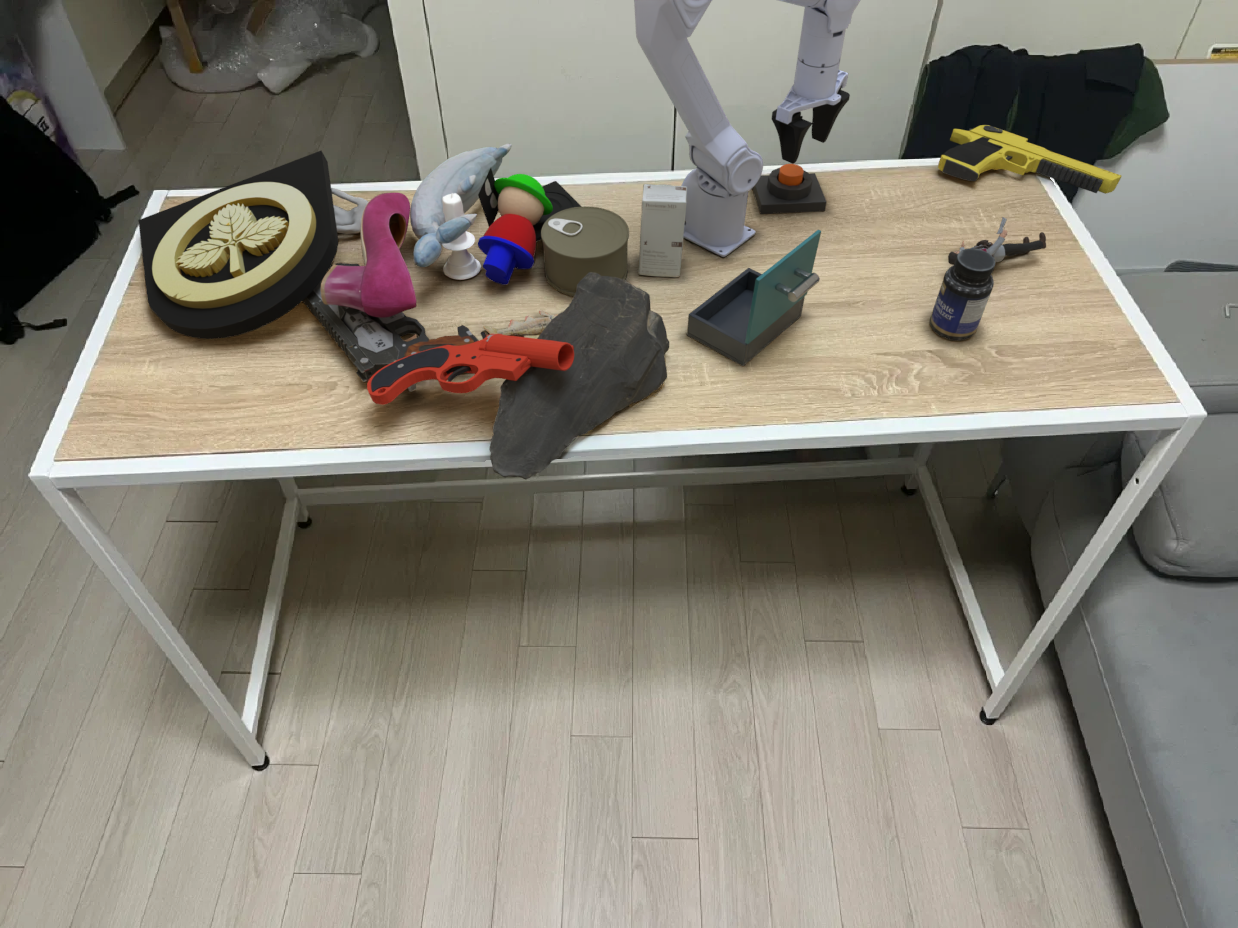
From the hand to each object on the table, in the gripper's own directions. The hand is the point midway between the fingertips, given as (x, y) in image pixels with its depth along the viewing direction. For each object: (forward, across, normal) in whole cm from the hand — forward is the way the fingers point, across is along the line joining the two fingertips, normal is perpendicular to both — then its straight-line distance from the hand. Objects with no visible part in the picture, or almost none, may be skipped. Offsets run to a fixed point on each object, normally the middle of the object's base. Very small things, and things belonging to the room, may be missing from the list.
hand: (804, 149), depth 136 cm
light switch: (+8, -36, +25) cm, 44 cm away
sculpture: (-2, -48, +20) cm, 52 cm away
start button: (+6, +1, +2) cm, 7 cm away
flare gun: (+2, -71, +2) cm, 71 cm away
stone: (+5, -40, -2) cm, 40 cm away
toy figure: (+7, -45, +19) cm, 49 cm away
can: (+10, -33, +12) cm, 37 cm away
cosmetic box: (+10, -25, +5) cm, 28 cm away
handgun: (+8, +23, -23) cm, 33 cm away
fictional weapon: (+8, -52, +22) cm, 58 cm away
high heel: (+2, -56, +33) cm, 65 cm away
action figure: (+7, +13, -32) cm, 36 cm away
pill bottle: (+10, -9, -32) cm, 35 cm away
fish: (+9, -46, +12) cm, 48 cm away
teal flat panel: (+1, -28, -16) cm, 32 cm away
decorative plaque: (+6, -74, +34) cm, 81 cm away
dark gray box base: (+10, -28, -11) cm, 31 cm away
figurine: (+7, -57, +57) cm, 81 cm away
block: (+10, +1, +2) cm, 10 cm away
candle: (+9, -45, +26) cm, 53 cm away
